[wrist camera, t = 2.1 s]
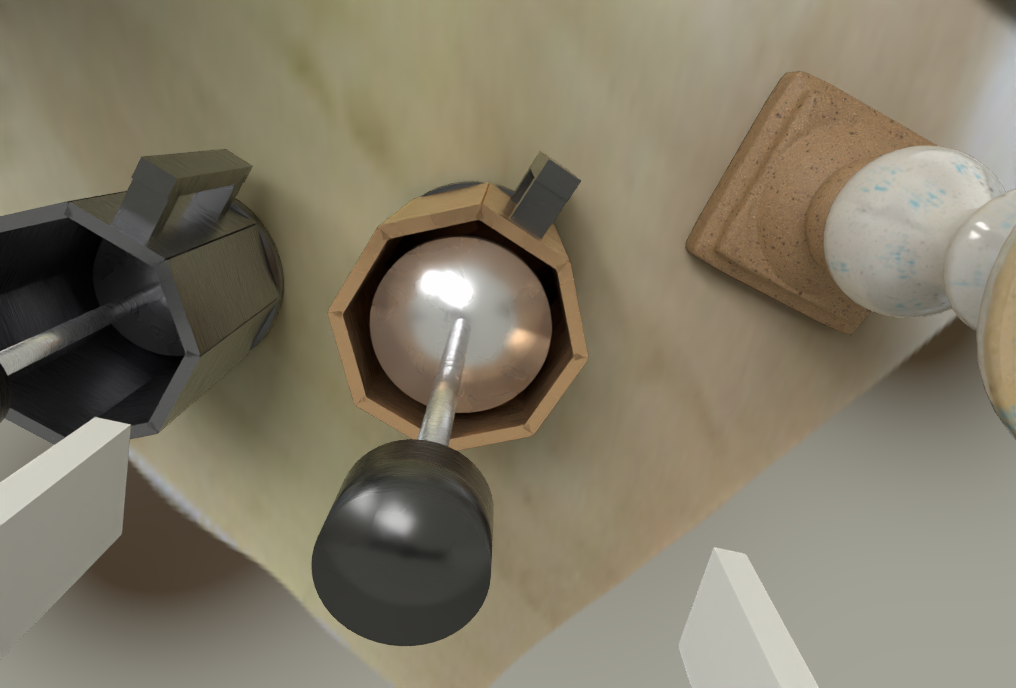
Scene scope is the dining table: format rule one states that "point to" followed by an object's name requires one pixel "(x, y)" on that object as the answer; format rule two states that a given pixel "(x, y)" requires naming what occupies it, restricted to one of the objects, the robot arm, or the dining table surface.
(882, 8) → the dining table surface
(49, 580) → the robot arm
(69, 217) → the steel carafe
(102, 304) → the steel plunger
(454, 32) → the dining table surface
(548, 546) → the dining table surface
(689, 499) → the dining table surface
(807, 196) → the candle holder
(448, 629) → the copper plunger
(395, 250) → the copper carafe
